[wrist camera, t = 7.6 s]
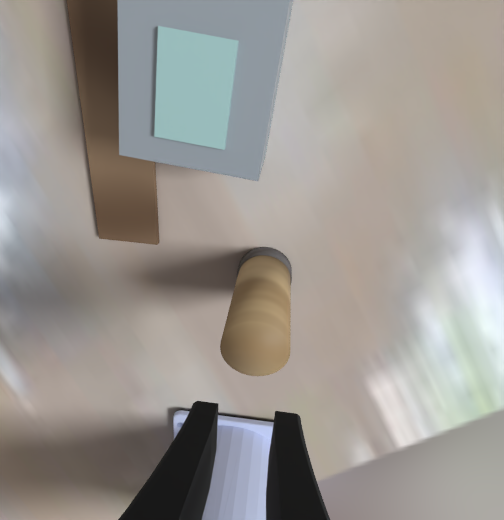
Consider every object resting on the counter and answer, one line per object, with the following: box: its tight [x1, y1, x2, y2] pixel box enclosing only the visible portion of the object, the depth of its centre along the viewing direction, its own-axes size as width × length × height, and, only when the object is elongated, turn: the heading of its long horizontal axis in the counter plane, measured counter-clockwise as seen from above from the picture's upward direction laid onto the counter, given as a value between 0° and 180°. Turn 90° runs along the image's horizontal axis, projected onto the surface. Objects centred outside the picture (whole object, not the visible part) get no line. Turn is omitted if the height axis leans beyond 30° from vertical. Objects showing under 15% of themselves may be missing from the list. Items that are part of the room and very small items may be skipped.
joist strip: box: [67, 0, 159, 245], centre depth 15 cm, size 16×3×1 cm, turn 176°
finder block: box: [118, 0, 293, 181], centre depth 13 cm, size 8×5×4 cm, turn 171°
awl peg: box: [220, 247, 292, 376], centre depth 16 cm, size 3×3×6 cm
